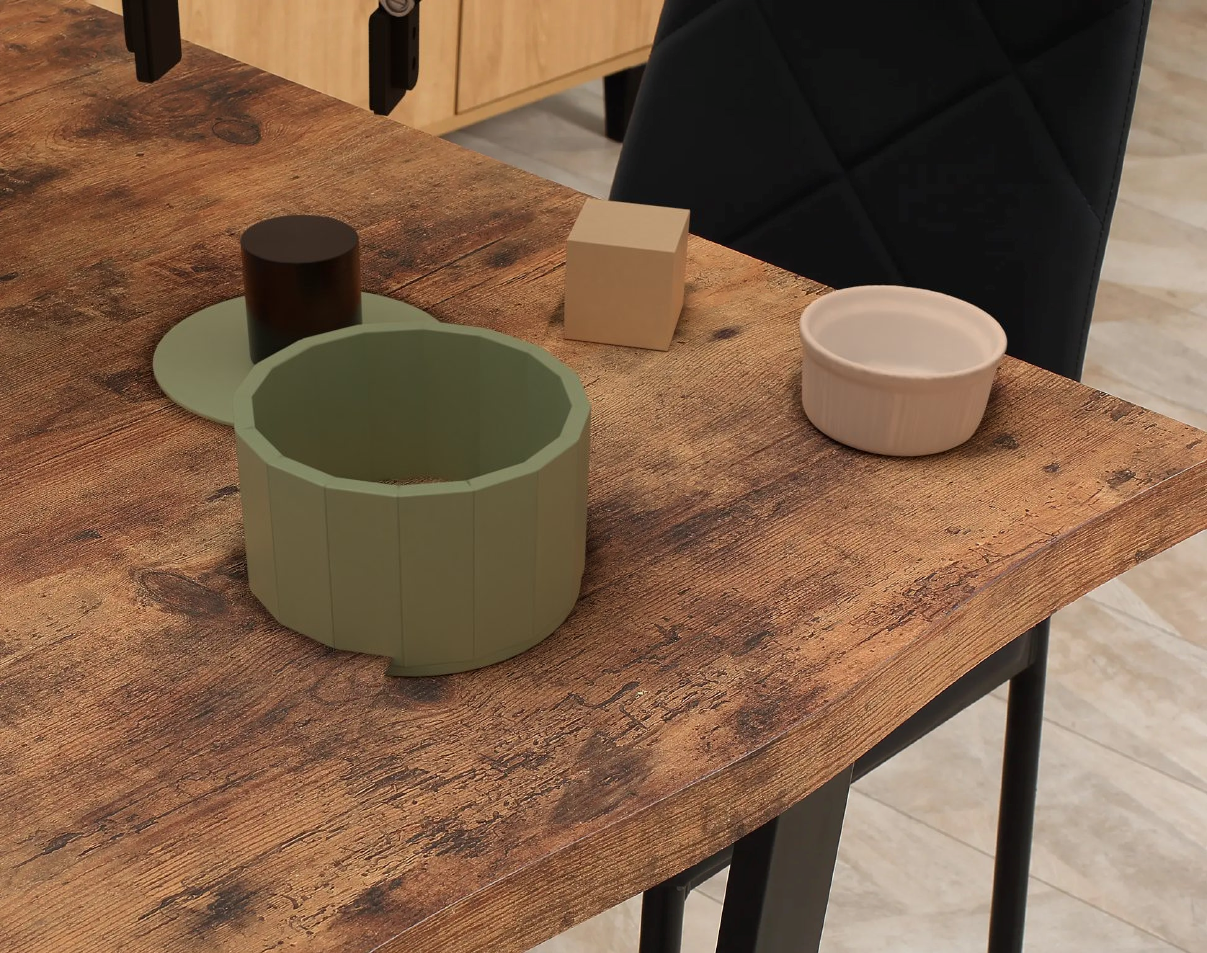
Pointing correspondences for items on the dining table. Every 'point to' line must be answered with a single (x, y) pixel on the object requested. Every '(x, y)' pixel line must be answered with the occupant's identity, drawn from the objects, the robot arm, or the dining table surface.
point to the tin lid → (271, 311)
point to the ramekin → (897, 368)
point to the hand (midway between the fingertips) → (273, 88)
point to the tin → (415, 492)
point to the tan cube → (625, 274)
